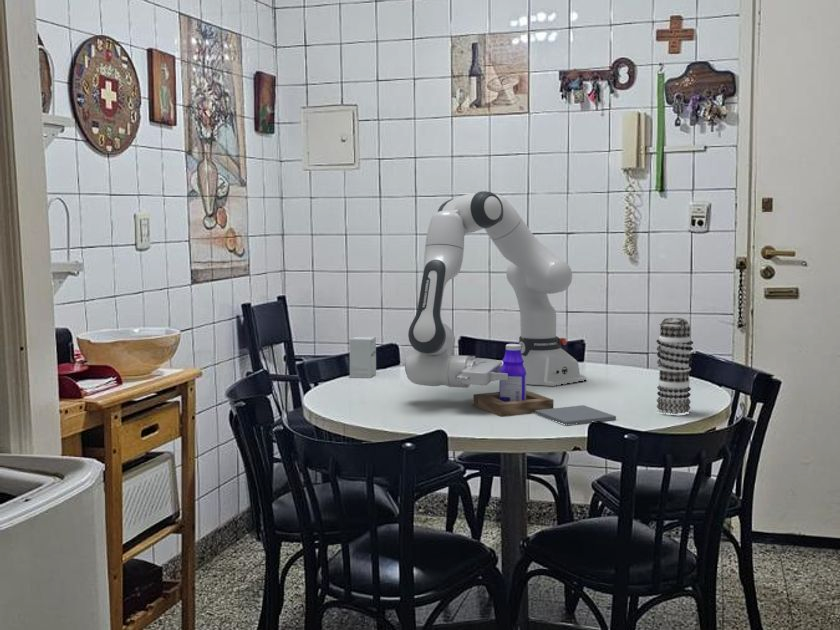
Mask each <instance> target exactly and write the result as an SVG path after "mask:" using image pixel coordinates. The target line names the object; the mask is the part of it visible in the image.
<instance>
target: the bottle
mask: <svg viewBox="0 0 840 630" xmlns="http://www.w3.org/2000/svg"><path fill="white" fill-rule="evenodd" d="M501 362H502V367H501V370H500V373H508V374H509V378H508V379H507V380H499V387H498V388H499V391H498V392H499V400H502V401H504V402H510V401H520V400H526V390H527V384H526V370H525V368H524V366H523V362H524V360H523V358H522V355H521V345H519V343H508V344H506V345H505V353H504V357H503V358H502V361H501Z"/></svg>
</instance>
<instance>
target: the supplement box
mask: <svg viewBox="0 0 840 630" xmlns="http://www.w3.org/2000/svg"><path fill="white" fill-rule="evenodd" d="M348 340H349V341H348V343H349V347H348V348H349V378H356V379H357V378H358V379H359V378H360V379H361V378H362V379H363V378H364V379H371V378H372V377H373V376H375V375H377V339H376V336H354V337H352V338H350V339H348Z"/></svg>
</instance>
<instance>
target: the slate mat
mask: <svg viewBox="0 0 840 630" xmlns="http://www.w3.org/2000/svg"><path fill="white" fill-rule="evenodd" d="M534 414H535V415H536V414H538V415H537V416H539V415H540V416H539V417H541V416H543V417H542V418H544V417H545V418H544V419H547V418H548V419H547V420H549V419H551V420H550V421H552V420H554V421H557V422H560V423H563V424H565V425H566V424H576V423H585V424H591V423H590V422H592V421H603V422H610V421H616V420H617V416H616V415H614V414H610V413H608V412H605V411H603V410H598V409H596V408H594V407H593V408H592V407H591V406H587V405H583V404H582V405H572V406H564V407H555V408H554V407H553V409H543V410H535V413H534ZM554 421H553V422H554ZM557 422H556V423H557ZM560 423H559V424H560ZM565 425H564V426H565Z"/></svg>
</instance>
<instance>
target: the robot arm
mask: <svg viewBox="0 0 840 630" xmlns="http://www.w3.org/2000/svg"><path fill="white" fill-rule="evenodd" d="M483 229H484V230H485V232H486V234H487V235H488V236H489V239H491V241H492V242H493V244H494V245H495V246H496V248H497V249H498V250H499V252H500V253H501V255H502V256H503V257H504V258H505V260H507V261H509V262H510V263H509V264H508V266H507V268H506V279H507V282H508V283H509V284H510V287H512V289H513V291H514V293H515V297H516V300H517V303H518V309H519V313H520V315H519V316H520V317H519V318H520V322H519V323H520V336H519V338H518V344H519V345H521V355H522V358H523V360H524V362H523V366H524V368H525V370H526V385H533V386H548V387H556V385H557V386H561V384H563V385H568V384H567V383H570V384H574V383H573V382H577V383H579V382H578V381H583V382H585V381H584V380H587V381H588V378H587V376H585V375H583V374H581V373H580V367H579V362H578V360H577V359H575V358H574V357H573V356H572V355H571V354H569V353H568V352H567V351H566V350H564V349H563V348H562V345H564V346H566V345H567V344H568V342H569V341H568V339H567V338H565V337H561V338H560V337H559V336H557V312H556V310H555V308H554V306H553V305H552V304H551V302H550V300H549V296H548V295H549V294H558V293H561V292H564V291H566V290H567V289H568V288H569V286H571V283H572V279H573V271H572V268H571V266H570V265H569V264H568V263H567V262H565V261H563V260H562V259H561V258H558V257H557V256H556V255H555V254H553V252H551V251H550V250H549V249H548V248H547V247H546V246H545V245H544V244H543V243H542V242H541V241H539V239H538V238H537V237H536V236H535V235H534V234H533V233H532V231H531V230H530V229H529V227H528V225H527V224H526V222H525V221H524V219H523V218H522V217H521V215H520V214H519V213H518V212H517V210H516V209H515V207H514V206H513V205H512V204H511V203H510V202H509V201H508V200H507V199H506V198H505V197H504V196H503V195H501V194H497V193H493V192H491V191H482V190H481V191H478V192H472V193H468V194H467V193H466V194H463V195H461V196H458V197H456V198H455V197H454V199H453V198H451V199H449V200H447V201H445V202H443V203H442V204H441V205H440V206H439V208H438V209H437V212H435V213H434V214H432V216H431V218H430V221H429V224H428V229H427V232H426V237H425V246H424V260H423V271H422V273H423V274H422V277H421V278H422V279H421V283H420V292H419V297H418V304H417V305H418V306H417V310H416V313H415V316H414V318H413V320H412V321H411V323H410V326H409V328H408V333H407V334H408V341H409V343H410V345H411V347H412V348H413V349H412V350H411V351H410V353H409V355H408V356H406V358H405V361H404V370H405V373H406V374H405V375H406V378H407V379H408V380H409V381H410V382H411V383H413V384H414V385H419V386H426V387H427V386H428V387H439V386H446V387H449V388H465V389H466V388H467V389H468V388H469V387H470V385H471V386H487V385H489V384H490V383H491V382H496V381H497V382H498V381H500V380H507V379H508V378H509V374H508V373H500V370H501V367H502V365H503V361H501V360H497V359H492V358H481V357H476V356H475V355H456V354H453V352H454V348H455V342H456V338H455V333H454V331H453V330H452V329H451V328H450V327H449V326H448V325H447V324H446V323H445V324H444V322H443V320H442V315H441V312H442V307H443V305H442V304H443V298H444V292H445V288H446V286H447V283H448V282H449V281H450V280H452V279H454V278H455V277H457V276H458V275H459V273H460V271H461V269H462V264H463V260H464V249H465V236H466V235H467V234H471V233H475V232H477V231H481V230H483Z"/></svg>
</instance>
